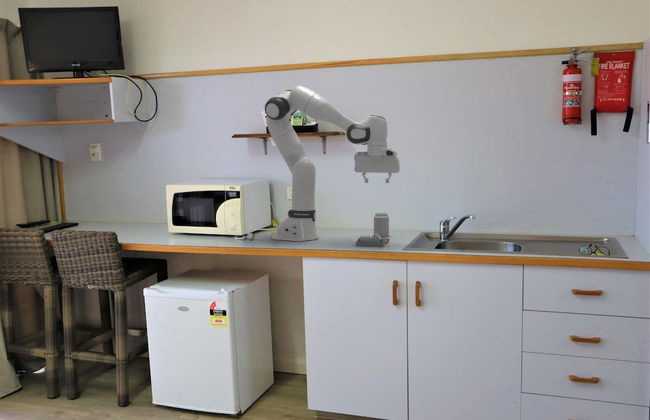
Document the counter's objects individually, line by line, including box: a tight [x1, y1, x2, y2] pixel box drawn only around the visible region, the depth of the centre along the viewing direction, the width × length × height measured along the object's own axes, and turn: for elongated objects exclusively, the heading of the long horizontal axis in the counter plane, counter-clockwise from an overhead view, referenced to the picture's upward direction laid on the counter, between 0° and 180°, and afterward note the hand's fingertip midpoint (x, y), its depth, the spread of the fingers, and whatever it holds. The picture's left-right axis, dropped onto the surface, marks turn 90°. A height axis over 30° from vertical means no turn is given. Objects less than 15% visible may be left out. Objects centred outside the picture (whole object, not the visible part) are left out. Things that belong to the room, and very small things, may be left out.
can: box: [373, 212, 390, 238], centre depth 308 cm, size 8×8×12 cm
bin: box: [355, 237, 386, 249], centre depth 283 cm, size 12×9×3 cm
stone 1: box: [359, 235, 371, 241], centre depth 284 cm, size 4×4×4 cm
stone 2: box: [369, 233, 383, 242], centre depth 283 cm, size 4×4×4 cm
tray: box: [381, 237, 390, 245], centre depth 295 cm, size 14×11×1 cm
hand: (376, 182), depth 279 cm, fingers open, 8 cm apart
